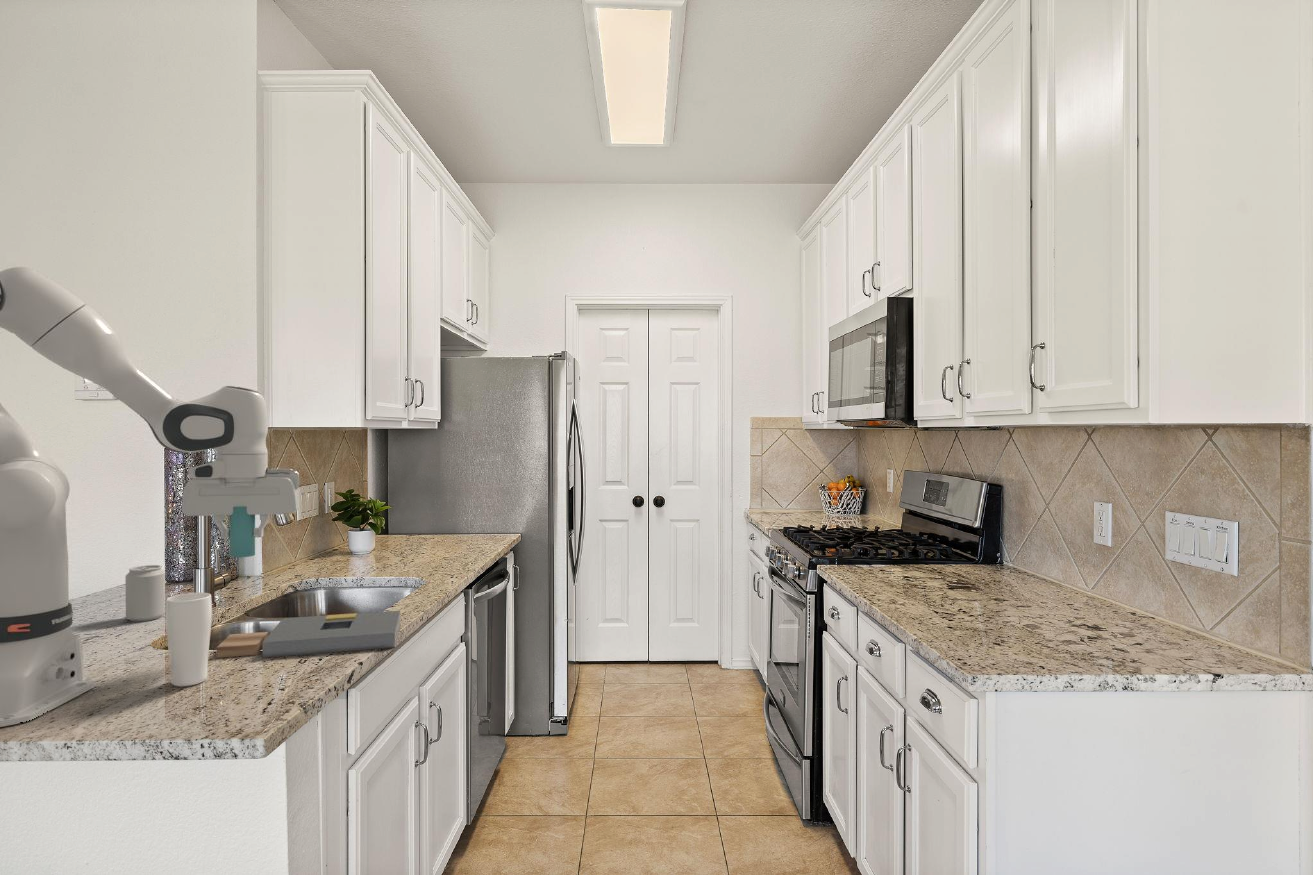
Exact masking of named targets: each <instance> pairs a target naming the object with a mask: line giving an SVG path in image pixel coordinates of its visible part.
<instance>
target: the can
mask: <svg viewBox="0 0 1313 875" xmlns="http://www.w3.org/2000/svg"><path fill="white" fill-rule="evenodd" d="M128 571H129V572H128V573H126V575H125V618H126V619H128V620H129V621H130V622H136V623H137V622H140V623H141V622H148V621H154V620H159V619H160V618H161V617H162V616H163V615H164V614H165V612H166V572H165V571H164V570H163V569H162V565H160V564H151V565H149V564H147V565H139V566H138V565H137V566H134V567H131V568H129V569H128Z"/></svg>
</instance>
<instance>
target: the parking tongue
mask: <svg viewBox="0 0 1313 875" xmlns="http://www.w3.org/2000/svg"><path fill="white" fill-rule="evenodd" d="M268 635H269V631H260V632H246V633H234V634H231V633H230V634H229V635H228V636H227V637H226V638H225V639H224V640H223V641H222V642H221V643H219V645H217V646H216V658H219V659H220V658H231V657H246V656H258V654H259V653H260V651H262V650H263V644H262V642H263V641H264V640H265V639H266V638H267V637H268Z"/></svg>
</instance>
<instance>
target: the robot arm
mask: <svg viewBox="0 0 1313 875" xmlns="http://www.w3.org/2000/svg"><path fill="white" fill-rule="evenodd" d="M0 328H1V329H3V330H6V331H7V332H9V333H11V334H14V335H15V336H16V337H17V338H18V339H20V340H21V341H23V342H24V343H25V344H26V345H27V346H29V347H31V349H33V350H34V351H35V352H37V353H38V354H39V355H42V356H43V357H45V358H46V359H47V360H48V361H50V362H52V363H54V364H56V365H57V366H59V367H61V368H62V369H64V370H67V371H68V372H70V373H72V374H74V375H77V376H78V377H81V378H83V379H85V380H87V381H90V382H92V383H94V384H95V385H97V386H99V387H101V388H102V389H104V390H107V392H109V393H111V394H112V395H113V396H114V397H115V398H117V399H118V400H120V402H122V403H123V404H124V405H126V406H127V407H128V408H130V409H131V410H132V411H134V412H135V413H136V415H139V416H140V417H141V418H142V419H143V420H144V421H145V422H146V423H147V425H148V427H149V428H150V430H151V433H152V434H153V436H154V438H155V439H156V440H157V442H158V444H160V445H161V446H162V447H163V448H165V449H167V450H169V451H170V452H173V453H179V454H188V453H199V452H203V451H206V450H210V449H215V450H216V459H215V460H213V461H208V462H205V463H204V464H200V465H195V466H192V467H191V468H189V469H188V477H189V478H190V479H189V481H187V482H186V483H185V486H184V488H183V495H182V505H181V510H182V513H183V514H184V515H185V516H186V517H201V516H202V517H205V516H206V517H211V516H212V517H213V522H214V524H216V526H217V528H218V529H219V531H220V539H230V527H229V528H227V526H226V524H225V523H224V521H225V520H226V516H230V515H232V514H233V507H247V513H248V514H249V515H255V516H257V515H258V516H259V521H261V522H260V524H259V526H258V527H255V528H254V529H253V532H254V534H253V537H255V538H263V537H264V533H265V532H264V528H266V525H267V524H268V523H269V521H270V519H271V515H292V514H295V513H296V512H297V511H298V510H299V508H300V500H299V492H298V489H299V487H300V485H301V482H300V481H301V476H300V474H299V472H298V471H296V470H294V469H293V468H289V467H287V468H276V467H273V468H271V467H269V466H268V463H269V462H268V461H269V458H268V457H269V454H268V452H269V451H268V447H267V443H266V441H267V440H266V439H267V435H268V432H269V423H268V421H269V419H268V409H267V403H266V400H265V397H264V396H263V395H262V394H261V393H260V392H258V391H256V390H254V389H250V388H245V387H240V386H235V385H234V386H232V385H227V386H222V387H221V388H220V389H218V390H216V391H215V392H212V393H211V394H208V395H205V396H202V397H199V398H196V399H193V400H190V401H186V402H185V401H182V400H179V399H177V398H175V397H173V396H172V395H170V394H169V393H168V392H166V391H165V390H164V389H162V388H161V387H160V386H159V385H158V384H156V383H155V382H154V381H153V380H151V379H150V378H149V377H148V376H146V375H145V374H144V373H143V372H142V371H140V370H139V369H138V368H137V366H135V364H134V363H133V362H132V361H131V360H130V358H129V356H128V355H127V352H126V351H125V348H124V346H123V343H122V341H121V338H120V335H118V333H117V332H116V331H115V330H114V328H112V326H111V325H110V324H109V323H108V322H107V321H106V320H105V319H104V318H103V317H102V316H101V315H100V314H99V313H97V311H95V310H94V309H93V308H92V307H91V306H90V305H89V304H87V303H86V302H84V301H83V300H82V299H81V298H80V297H78V296H77V295H76V294H74V293H72V292H71V291H70V290H68V289H66V288H65V287H63V286H62V285H61V284H59V283H58V282H56V281H54V280H53V279H51V278H49V277H48V276H46V275H45V274H43V273H41V272H39V271H37V270H35V269H33V268H30V267H26V266H14V267H10V268H7V269H3V270H2V271H0ZM70 490H71V489H70V482H69V479H68V477H67V475H66V474H65V472H63V470H62V469H61V468H60V467H59V466H58V465H57V464H56V463H55V462H54V460H53V459H52V458H51V457H50V456H49V455H48V454H47V453H46V452H45V451H44V449H43V448H42V447H41V446H40V445H39V444H38V443H37V442H36V441H35V440H34V438H33V437H31V435H30V434H29V433H28V432H27V431H26V430H25V429H24V428H23V427H22V426H21V425H20V424H19V423H18V422H17V421H16V420H15V418H13V416H12V415H11V414H10V413H9V412H8V411H7V409H5V407H4V406H3V405H2V404H1V403H0V728H1V727H8V726H13V725H18V724H21V723H20V722H23V723H26V721H27V722H30V721H32V719H33V720H34V718H35V719H37V718H38V716H39V717H41V716H42V715H44V714H46V713H48V712H50V711H51V710H53V709H56V708H57V707H59V706H61V705H63V704H65V703H67V702H69V701H71V700H72V699H75V698H76V697H78V696H81V695H83V694H84V693H86V692H88V691H90V690H91V689H94V688H95V681H94V680H93V679H88V678H86V671H85V662H84V660H85V659H84V652H83V643H82V642H83V641H82V639H81V638H79V636H77V635H76V634H75V633H74V632H73V630H72V628H71V625H72V624H73V616H74V611H73V605H72V603H70V600H69V598H70V597H69V592H70V591H69V553H68V552H69V551H68V537H67V519H66V518H67V516H66V515H67V514H66V511H67V510H66V506H67V504H66V503H67V501H68V498H69V496H70ZM47 711H48V712H47ZM43 713H44V714H43ZM36 717H37V718H36ZM29 720H30V721H29Z"/></svg>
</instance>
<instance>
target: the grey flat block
mask: <svg viewBox="0 0 1313 875" xmlns="http://www.w3.org/2000/svg"><path fill="white" fill-rule="evenodd" d="M400 627H401V610H390V611H376V612H373V611H372V612H359V613H358V612H354V613H340V614H326V615H314V616H313V615H312V616H301V617H284V618H282V619H281V620H279V622H278V623H277V625H276V626H275V627H274V628H273V630H272V631H271V632H270V633H268V637H267V638H266V639H265V640H264V641H263V642H262V644H263V648H262V658H263V659H267V658H277V657H280V658H281V657H289V656H292V657H293V656H303V655H306V656H307V655H315V654H316V655H318V654H328V653H341V652H353V651H356V652H357V651H365V650H366V651H367V650H369V651H370V650H378V649H379V650H380V649H393V648H396V644H397V639H398V635H399V634H398V633H399V631H400Z"/></svg>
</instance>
